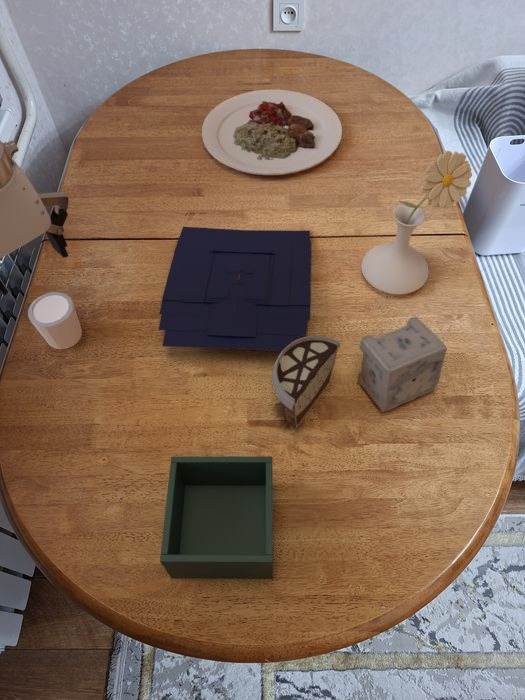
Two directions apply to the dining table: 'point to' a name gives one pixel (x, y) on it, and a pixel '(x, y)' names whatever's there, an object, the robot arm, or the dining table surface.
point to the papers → (237, 289)
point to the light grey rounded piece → (56, 319)
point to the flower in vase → (398, 257)
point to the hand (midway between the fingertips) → (31, 270)
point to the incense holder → (401, 364)
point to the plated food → (271, 132)
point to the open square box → (219, 518)
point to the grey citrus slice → (303, 375)
